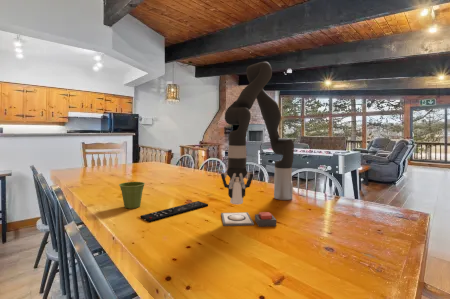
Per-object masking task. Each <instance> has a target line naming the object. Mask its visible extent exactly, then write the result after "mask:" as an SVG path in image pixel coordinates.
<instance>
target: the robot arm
mask: <svg viewBox="0 0 450 299" xmlns="http://www.w3.org/2000/svg"><path fill="white" fill-rule="evenodd" d="M272 75H273V70H272V65H271V64H270V62H268V61H261V62H257V63H254V64H251V65H248V66H247V68H246V77H247V80H248V83H249V84H247V85H246V86H245V87H244V88H243V89H242V90H241V92H240V93H239V94H238V97H237V99H236V100H234V102H232V103H231V104H230V105H229V106H228V107H227V109H226V110H225V113H224V120H225V123H226V124H227V125H230V126H238V127H237V129H236V130H231V131H230V132H229V134H228V149H227V150H228V151H227V171H225V172H221V173H220V176H221V179H222V180H221V181H222V183H223V187H224V188H227V189H228V197H229V198H230V199H231V198H232V185H233V183H234V181H235V177H240V178H239V181H240V182H241V184H242V198H243V199H244V198H245V197H246V189H247V188H250V187H251V185H252V181H253V178H254V173H252V172H248V170H247V156H248V155H247V133H248V129H249V125H250V123H251V119H252V115H251V114H252V113H251V111H250V110H251V109H252V107H253V105H254V104H255V102H256V101H257V104H258V107H259V109H260V114H261V116H262V119H263V122H264V124H265V127H266V130H267V135H268V139H269V142H270V146H271V149H272V152H273V153H274V154H275V155H280V156H282V158H281V159H280V160H277V161H275V162H274V184H273V189H274V190H273V198H274V199H276V200H279V201H290V200H293V192H294V191H293V189H294V186H293V184H294V183H293V181H292V180H293V178H292V176H293V173H292V172H293V163H294V153H295V144H294V141H293V139H292V138H287V137H285V138H284V137H280V134H279V126H280V123H281V121H282V120H281V119H282V113H281V110H280V107H279V104H278V103H277V101H276V100H275V99H274V98H273V97H272V96H271V95H269V93H267V92H266V91H265V90H264V88H265V86H266V85H267V84H268V82H269V81H270V80H271V78H272ZM227 176H228V178H229V181H228V184H227V180H226V179H227ZM246 176H247V177H246ZM245 178H247V181H246V184H245V180H244V179H245Z"/></svg>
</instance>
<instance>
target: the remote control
mask: <svg viewBox="0 0 450 299" xmlns="http://www.w3.org/2000/svg"><path fill="white" fill-rule="evenodd" d="M208 206H209V203H205V202H203V201H199V200H196V201H192V202H189V203H185V204H182V205H178V206H173V207H169V208H165V209H161V210H158V211H154V212H151V213H150V212H149V213H146V214H143V215H141V214H140V219H141V220H143V221H145V222H148V223H153V222H154V223H155V222H156V221H160V220H164V219H167V218H171V217H175V216H178V215H181V214H185V213H189V212H193V211H195V210H199V209H203V208H206V207H208Z"/></svg>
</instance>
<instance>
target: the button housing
mask: <svg viewBox="0 0 450 299" xmlns="http://www.w3.org/2000/svg"><path fill="white" fill-rule="evenodd" d="M270 214H271V215H272V219H260V217H259V213H257V214H254V222H255V223H256V224H257V226H258V227H259V228H260V227H277V219H276V217H275V216H274V215H273V214H272V213H270Z"/></svg>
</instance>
